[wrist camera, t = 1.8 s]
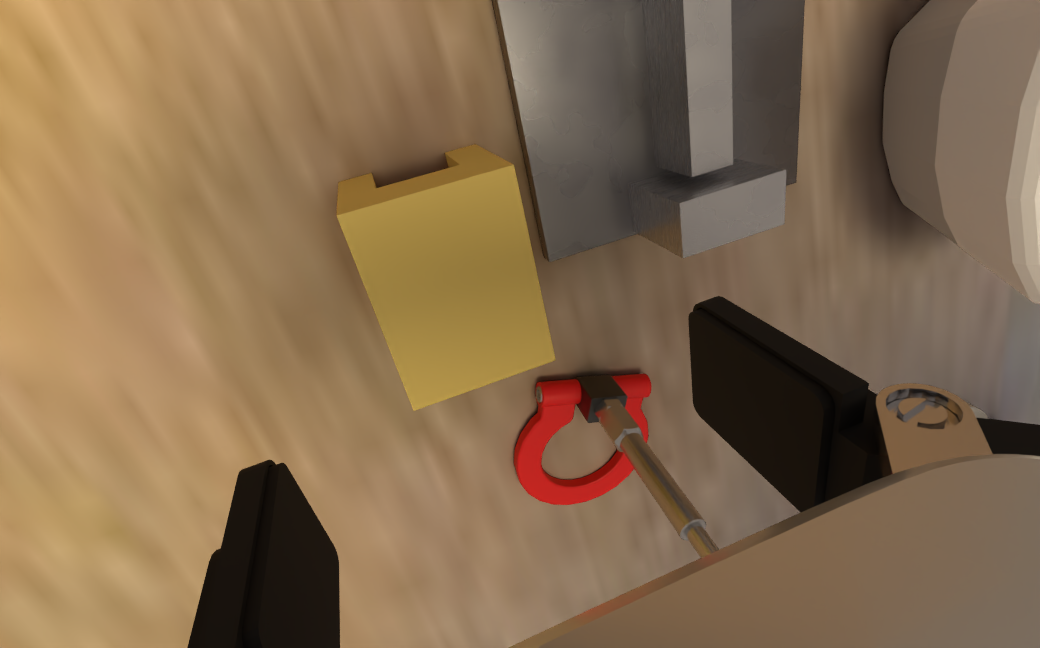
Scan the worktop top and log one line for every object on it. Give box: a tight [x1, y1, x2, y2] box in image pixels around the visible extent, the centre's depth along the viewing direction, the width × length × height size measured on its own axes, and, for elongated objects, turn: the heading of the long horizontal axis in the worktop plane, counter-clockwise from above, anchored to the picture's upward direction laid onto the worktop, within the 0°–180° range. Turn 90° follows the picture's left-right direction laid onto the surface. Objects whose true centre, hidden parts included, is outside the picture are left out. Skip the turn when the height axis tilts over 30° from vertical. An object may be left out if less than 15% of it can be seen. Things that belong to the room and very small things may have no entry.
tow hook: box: [514, 374, 719, 558], centre depth 26 cm, size 8×13×9 cm
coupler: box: [492, 0, 805, 262], centre depth 20 cm, size 14×18×5 cm
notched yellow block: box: [337, 144, 555, 411], centre depth 21 cm, size 6×8×6 cm
